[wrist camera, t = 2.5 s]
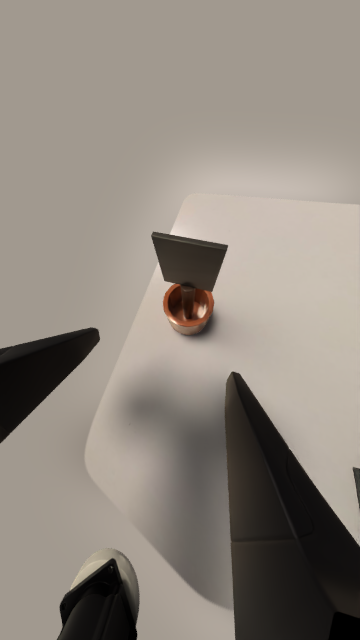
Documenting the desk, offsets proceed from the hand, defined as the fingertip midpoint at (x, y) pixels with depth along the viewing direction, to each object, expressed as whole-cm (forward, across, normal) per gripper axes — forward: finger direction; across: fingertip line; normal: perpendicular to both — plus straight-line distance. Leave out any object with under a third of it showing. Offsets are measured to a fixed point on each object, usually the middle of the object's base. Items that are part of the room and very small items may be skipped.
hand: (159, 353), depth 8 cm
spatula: (+13, 0, +4) cm, 14 cm away
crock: (+14, 0, +4) cm, 14 cm away
